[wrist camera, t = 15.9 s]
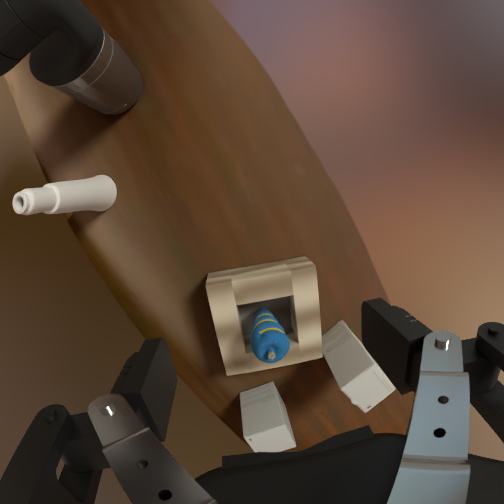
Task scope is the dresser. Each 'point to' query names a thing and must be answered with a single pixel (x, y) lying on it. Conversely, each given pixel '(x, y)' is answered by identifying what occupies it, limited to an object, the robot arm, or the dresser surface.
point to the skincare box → (354, 368)
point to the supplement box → (265, 420)
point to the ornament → (268, 337)
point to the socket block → (272, 299)
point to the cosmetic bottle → (67, 196)
